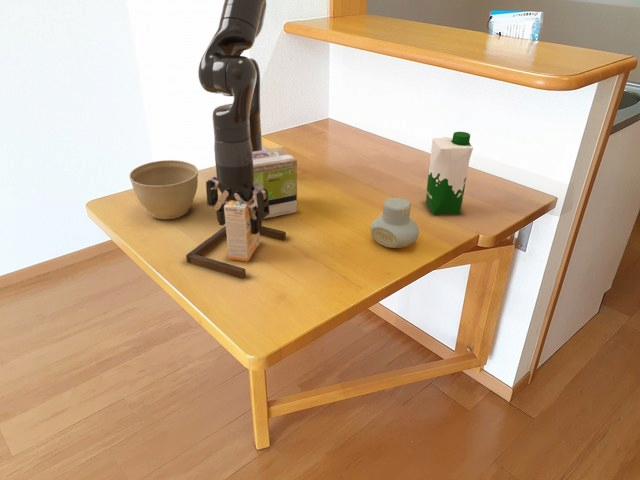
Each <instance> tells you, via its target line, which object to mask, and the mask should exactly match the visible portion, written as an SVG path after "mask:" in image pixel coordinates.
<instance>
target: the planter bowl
mask: <svg viewBox="0 0 640 480" xmlns="http://www.w3.org/2000/svg"><path fill="white" fill-rule="evenodd" d="M198 176H199V168H198V167H197V166H196V165H195V164H193V163H190V162H187V161H183V160H175V159H165V160H157V161H151V162H146V163H144V164H143V163H142V164H141V165H139V166H137V167H135V168H134V169H132V170H131V171H130V173H129V180H130V182H131V186H132V190H133V192H134V195H135V196H136V198H137V200H138V201H139V203H140V204H141V205H142V206H143V207H144V208H145V209H146V210H147V211H148V212H149V214H150V216H151V217H152V218H155V219H158V220H174V219H178V218H181V217H182V216H185V215H186V214H188V212H189V209H190V206H191V204H192V203H193V201H194V199H195V197H196V195H197V190H198V182H199V179H198Z"/></svg>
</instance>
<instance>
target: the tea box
mask: <svg viewBox="0 0 640 480" xmlns="http://www.w3.org/2000/svg"><path fill="white" fill-rule="evenodd" d="M253 170H254V180H253V186H254V188H255V189H257V190H262V189H264V188H265V189H267V191H268V201H269V211H270V213H269V214H268V215H267V216H266V217H265V218H263V219H262V220H264V219H269V218H276V217H279V216H284V215H290V214H294V213H295V214H296V213H297V208H298V160H297V159H296V158H295V157H294V156H292V155H291V154H290V153H289V152H287V151H286V150H285V149H284V148H283V147H282V146H281V147H275V148H267V149H262V150H260V151H254V152H253Z"/></svg>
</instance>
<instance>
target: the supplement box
mask: <svg viewBox="0 0 640 480" xmlns="http://www.w3.org/2000/svg"><path fill="white" fill-rule="evenodd" d="M253 196H254V195H253ZM254 198H255V196H254ZM246 203H247V204H246V205H245V204H242V203H239V201H235V200H229V201H228V202H227V203H226V204H225V205H224V211H225V222H226V224H225V226H226V233H227V236H226V243H227V244H226V245H227V255H228V259H229V260H232V261H241V262H246V263H247V262H250V259H251V258H252V256H253V254H254V253H255V251H256V249H257V248H258V247H259V245H261V244H260V243H261V239H260V238H261V237H260V236H261V235H259V232H258V233H257V234H256V235H255V234H252V224H251V219H252V218H251V216H250V215H249V211H248V205H249V206H250V205H251V204H252V199H250V200H249V201H248V202H246ZM253 210H254V209H253ZM254 212H255V211H254ZM255 213H256V212H255Z"/></svg>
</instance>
